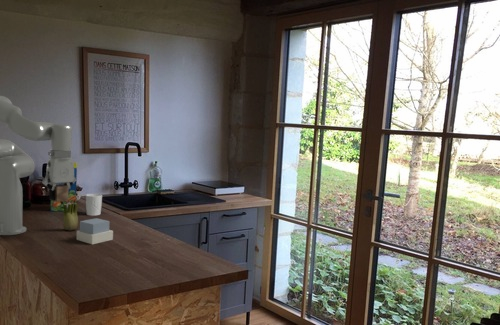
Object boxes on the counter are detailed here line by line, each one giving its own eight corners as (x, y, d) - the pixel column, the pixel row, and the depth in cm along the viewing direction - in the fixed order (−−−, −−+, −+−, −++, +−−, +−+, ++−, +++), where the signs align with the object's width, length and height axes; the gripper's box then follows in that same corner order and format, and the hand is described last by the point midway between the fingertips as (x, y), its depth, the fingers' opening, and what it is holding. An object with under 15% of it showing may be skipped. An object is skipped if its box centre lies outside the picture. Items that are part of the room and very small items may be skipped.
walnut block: (56, 201, 174) (57, 187, 173) (49, 199, 176) (50, 185, 176) (68, 200, 178) (68, 186, 177) (60, 198, 181) (61, 184, 180)
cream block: (92, 245, 170) (92, 235, 170) (76, 240, 176) (76, 230, 175) (112, 240, 179) (113, 230, 178) (97, 235, 184) (97, 226, 184)
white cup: (104, 213, 225) (104, 194, 224) (97, 216, 217) (98, 196, 216) (89, 212, 226) (90, 193, 225) (82, 215, 218) (82, 195, 217)
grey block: (93, 234, 171) (93, 224, 171) (79, 231, 175) (80, 221, 175) (109, 230, 178) (109, 221, 178) (96, 227, 182) (96, 218, 182)
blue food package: (75, 211, 226) (76, 163, 224) (50, 211, 222) (51, 163, 220) (76, 208, 232) (76, 162, 230) (51, 209, 228) (52, 161, 225)
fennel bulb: (62, 231, 186) (63, 204, 185) (64, 228, 191) (64, 201, 190) (77, 231, 188) (77, 204, 187) (78, 228, 192) (78, 201, 191)
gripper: (46, 156, 166) (44, 202, 168) (84, 155, 180) (82, 198, 182) (35, 153, 170) (33, 199, 172) (73, 153, 185) (71, 195, 186)
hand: (58, 198), depth 177 cm, fingers closed on walnut block, 5 cm apart
